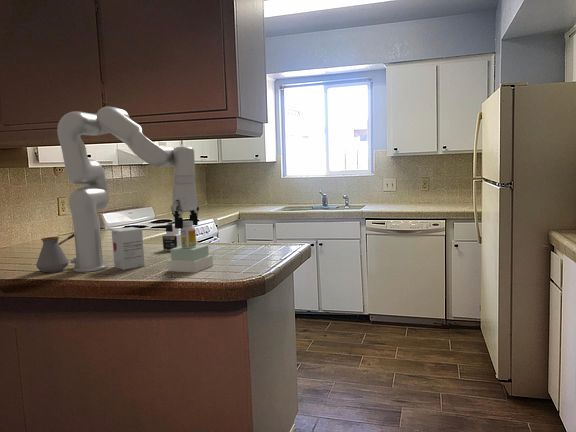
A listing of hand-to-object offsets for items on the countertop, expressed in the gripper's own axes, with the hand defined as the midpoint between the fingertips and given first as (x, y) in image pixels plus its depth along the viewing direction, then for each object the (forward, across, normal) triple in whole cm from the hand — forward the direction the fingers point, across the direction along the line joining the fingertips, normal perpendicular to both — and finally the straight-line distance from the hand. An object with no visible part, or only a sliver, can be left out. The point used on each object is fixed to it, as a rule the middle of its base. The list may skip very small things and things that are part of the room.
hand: (186, 226), depth 186 cm
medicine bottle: (+17, -36, -32) cm, 51 cm away
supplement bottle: (+8, 0, +1) cm, 8 cm away
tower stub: (+16, 0, +1) cm, 16 cm away
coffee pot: (+17, +10, -51) cm, 55 cm away
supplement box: (+17, +2, -26) cm, 31 cm away
